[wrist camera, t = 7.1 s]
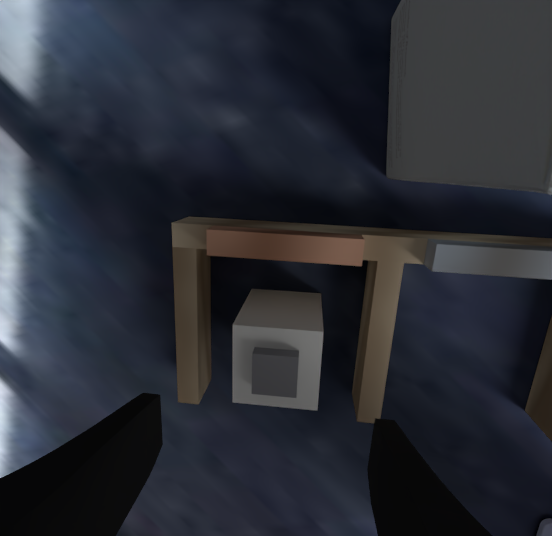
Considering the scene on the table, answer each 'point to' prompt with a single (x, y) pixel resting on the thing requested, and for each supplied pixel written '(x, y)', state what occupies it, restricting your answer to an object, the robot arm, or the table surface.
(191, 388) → the socket board
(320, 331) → the plug
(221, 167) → the table surface
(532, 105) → the supplement box
